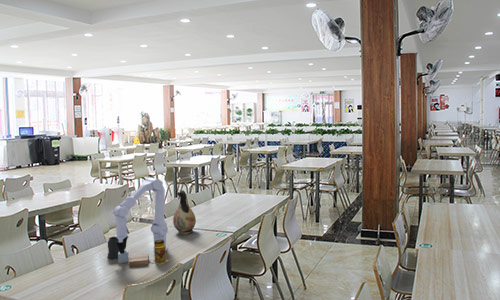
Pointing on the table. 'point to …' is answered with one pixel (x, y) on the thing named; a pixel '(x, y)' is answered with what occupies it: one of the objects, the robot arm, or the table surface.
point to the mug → (113, 248)
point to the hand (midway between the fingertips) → (122, 251)
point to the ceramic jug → (184, 216)
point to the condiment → (159, 252)
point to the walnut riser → (138, 260)
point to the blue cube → (123, 257)
